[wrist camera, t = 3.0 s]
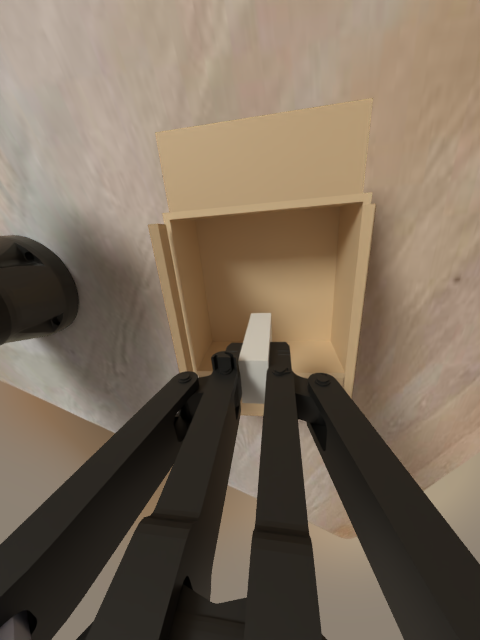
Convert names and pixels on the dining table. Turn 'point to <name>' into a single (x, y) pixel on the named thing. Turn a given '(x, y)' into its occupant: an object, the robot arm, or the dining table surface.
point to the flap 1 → (170, 294)
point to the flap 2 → (359, 293)
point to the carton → (268, 230)
